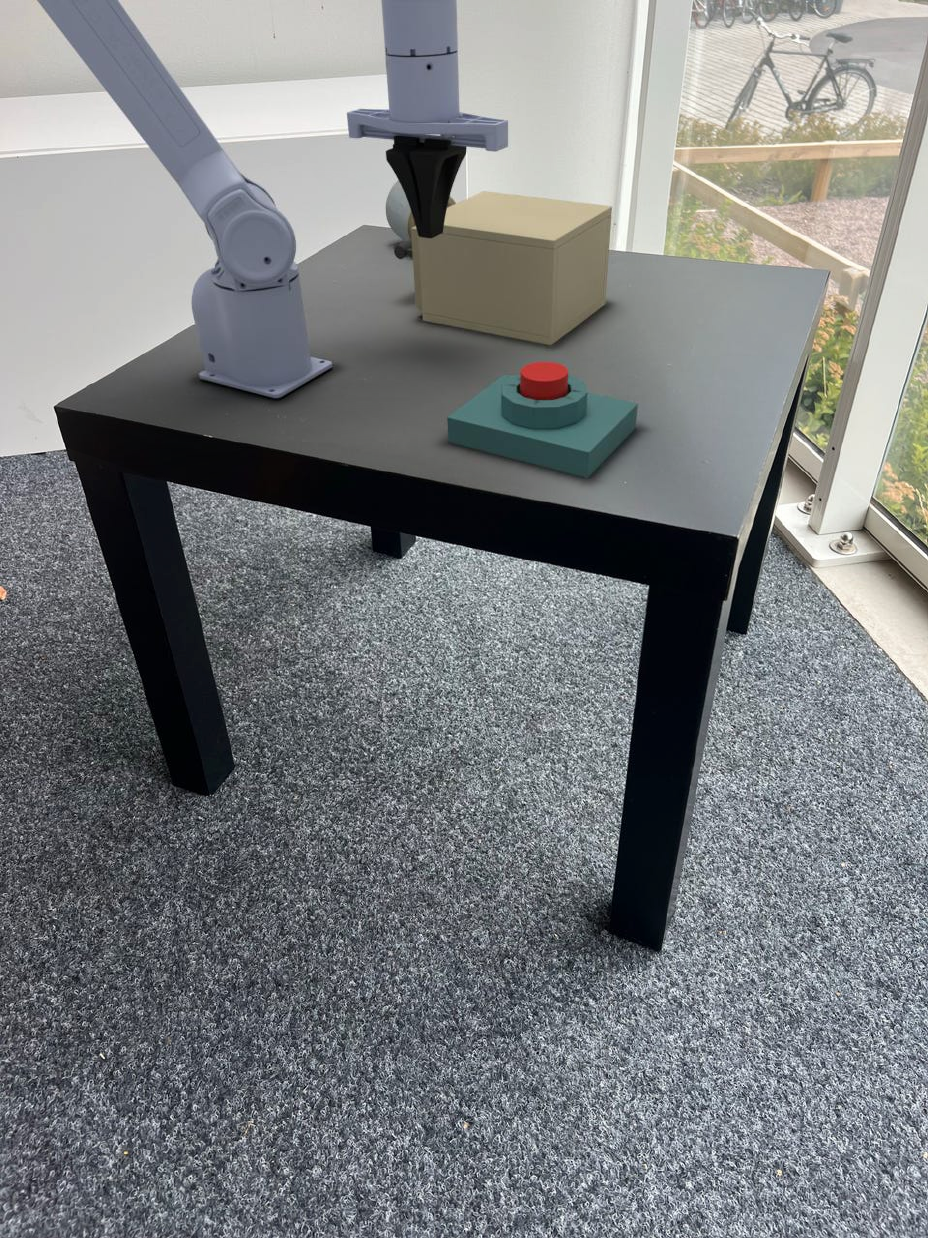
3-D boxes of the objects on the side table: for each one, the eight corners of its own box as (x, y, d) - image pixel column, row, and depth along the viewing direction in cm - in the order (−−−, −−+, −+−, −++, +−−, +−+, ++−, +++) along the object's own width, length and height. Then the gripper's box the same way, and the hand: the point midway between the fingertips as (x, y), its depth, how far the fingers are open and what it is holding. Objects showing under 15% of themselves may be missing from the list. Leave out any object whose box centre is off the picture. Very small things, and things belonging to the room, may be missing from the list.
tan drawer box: (422, 320, 90) (416, 220, 84) (484, 283, 98) (483, 190, 92) (550, 345, 84) (554, 240, 78) (605, 304, 92) (612, 205, 86)
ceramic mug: (410, 261, 105) (406, 191, 101) (386, 243, 111) (382, 176, 107) (490, 249, 109) (490, 181, 104) (463, 232, 115) (462, 167, 110)
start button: (511, 397, 67) (511, 375, 66) (533, 379, 70) (534, 358, 68) (554, 406, 66) (555, 384, 65) (575, 388, 68) (576, 366, 67)
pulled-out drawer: (382, 301, 92) (375, 222, 87) (440, 270, 100) (437, 195, 95) (532, 330, 85) (534, 245, 80) (583, 294, 92) (587, 214, 87)
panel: (448, 442, 69) (445, 394, 67) (503, 398, 75) (503, 353, 73) (587, 479, 64) (590, 428, 62) (635, 428, 70) (640, 381, 68)
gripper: (527, 48, 69) (525, 232, 77) (376, 42, 75) (389, 213, 83) (481, 60, 64) (484, 254, 73) (324, 53, 70) (343, 233, 79)
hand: (430, 234), depth 78 cm, fingers closed
